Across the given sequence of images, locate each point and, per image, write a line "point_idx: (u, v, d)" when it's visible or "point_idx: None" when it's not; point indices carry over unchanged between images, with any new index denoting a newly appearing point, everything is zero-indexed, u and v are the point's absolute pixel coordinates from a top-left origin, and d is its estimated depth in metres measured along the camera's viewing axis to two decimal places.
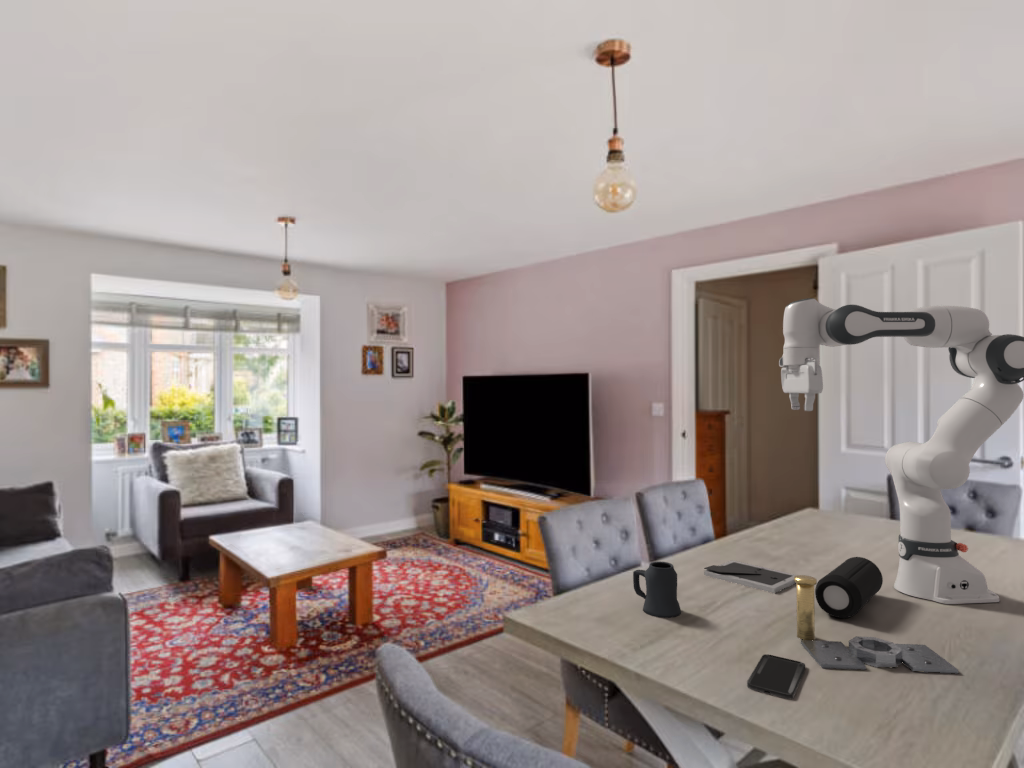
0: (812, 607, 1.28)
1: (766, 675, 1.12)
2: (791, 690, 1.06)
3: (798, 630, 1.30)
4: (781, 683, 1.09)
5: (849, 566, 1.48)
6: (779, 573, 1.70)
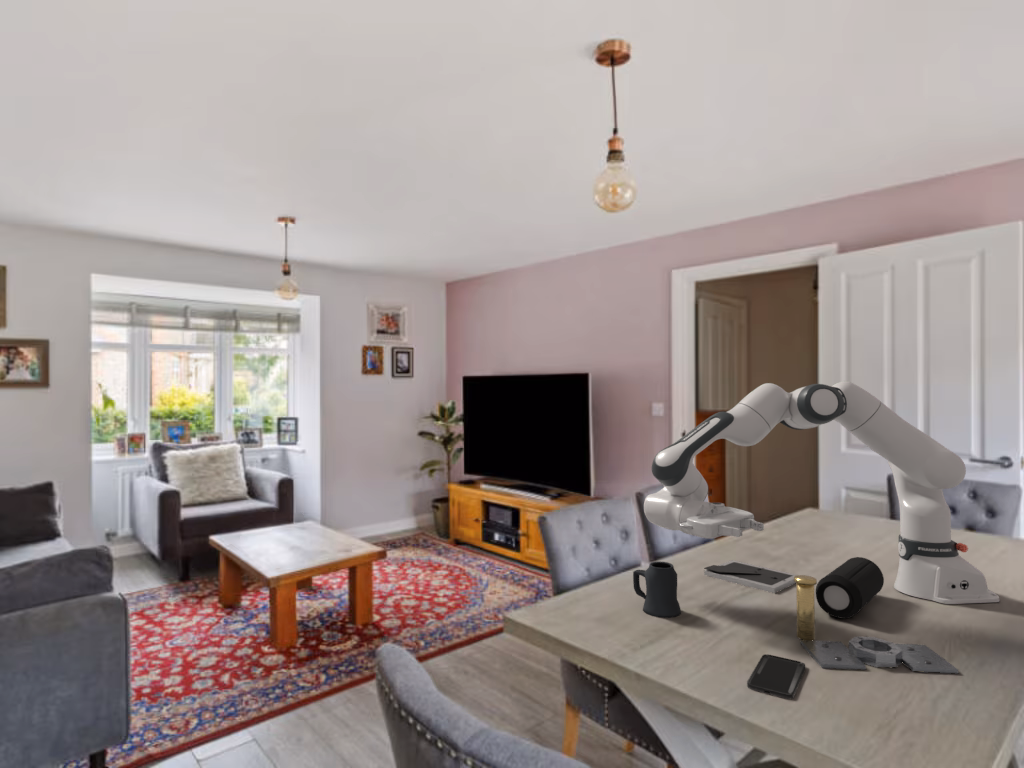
0: (812, 607, 1.28)
1: (766, 675, 1.12)
2: (791, 690, 1.06)
3: (798, 630, 1.30)
4: (781, 683, 1.09)
5: (850, 566, 1.48)
6: (779, 573, 1.70)
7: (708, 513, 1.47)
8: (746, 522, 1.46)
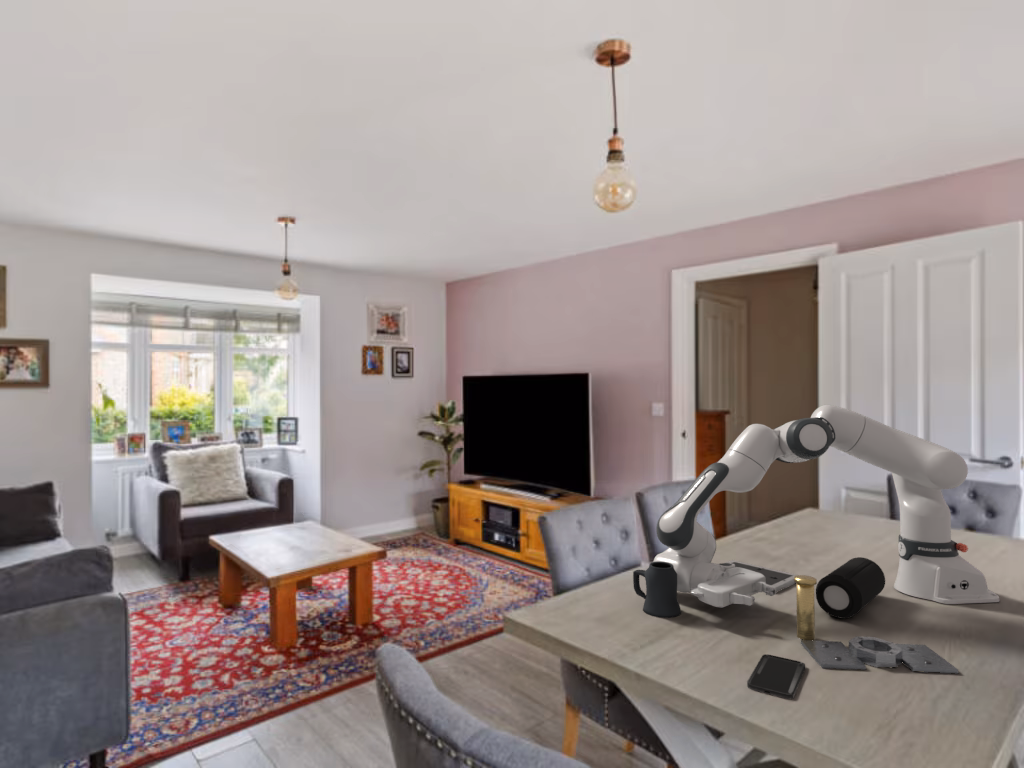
0: (812, 607, 1.28)
1: (766, 675, 1.12)
2: (791, 690, 1.06)
3: (798, 630, 1.30)
4: (781, 683, 1.09)
5: (850, 566, 1.48)
6: (779, 573, 1.70)
7: (719, 577, 1.45)
8: (758, 585, 1.44)
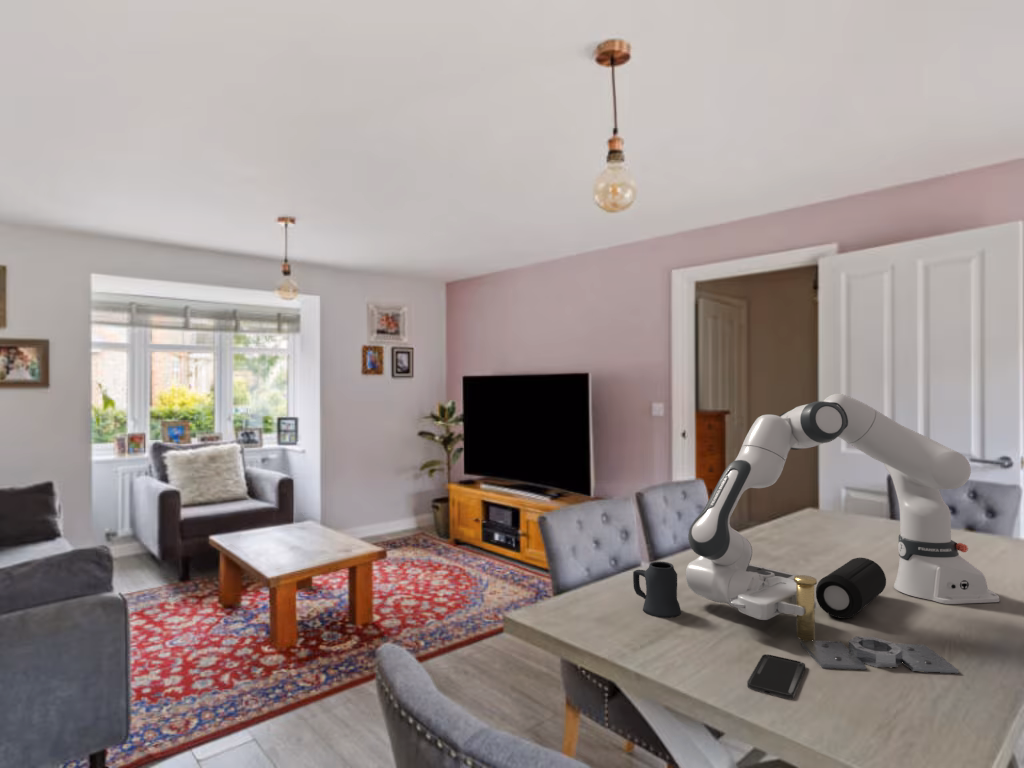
0: (812, 607, 1.28)
1: (766, 675, 1.12)
2: (791, 690, 1.06)
3: (798, 630, 1.30)
4: (781, 683, 1.09)
5: (851, 566, 1.48)
6: (779, 573, 1.70)
7: (759, 587, 1.37)
8: (796, 598, 1.34)
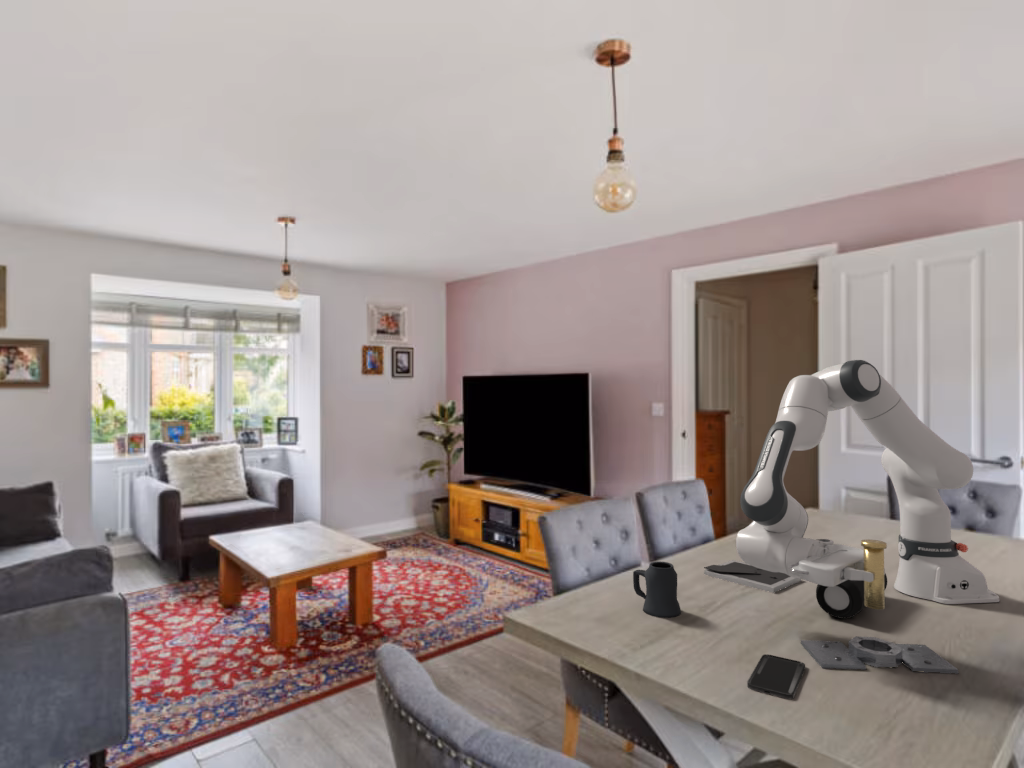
0: (882, 573, 1.19)
1: (766, 675, 1.12)
2: (791, 690, 1.06)
3: (866, 598, 1.20)
4: (781, 683, 1.09)
5: None
6: (779, 573, 1.70)
7: (821, 554, 1.27)
8: (861, 565, 1.25)
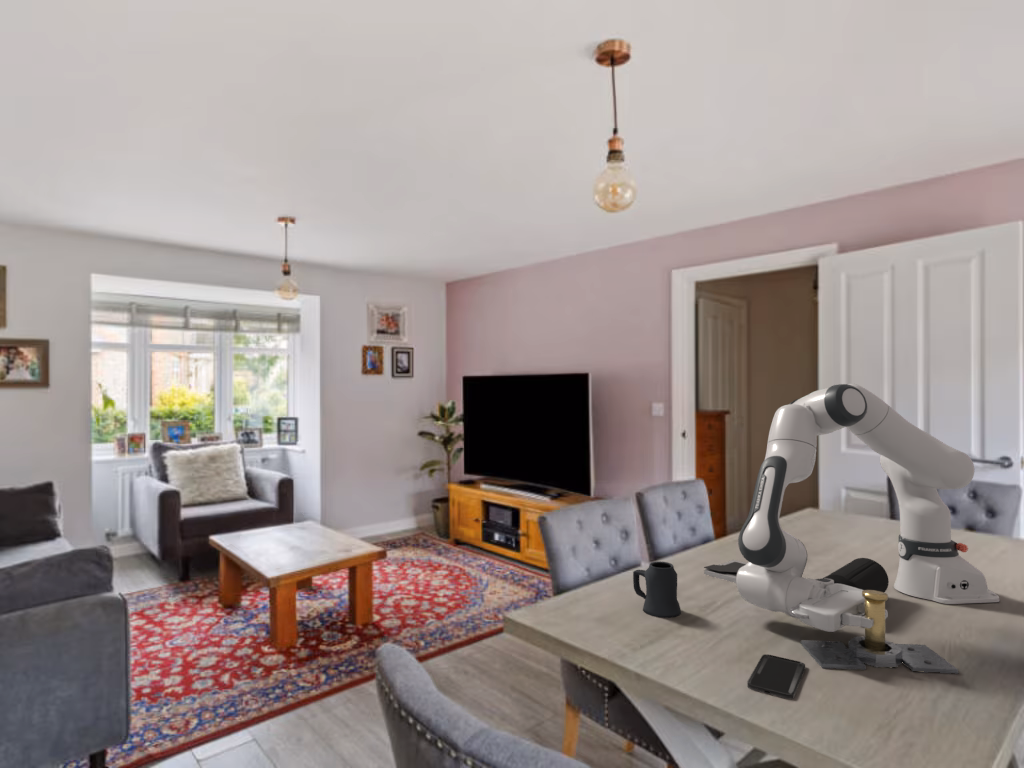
0: (883, 625, 1.19)
1: (766, 675, 1.12)
2: (791, 690, 1.06)
3: None
4: (781, 683, 1.09)
5: (852, 567, 1.48)
6: None
7: (821, 596, 1.27)
8: (864, 607, 1.25)
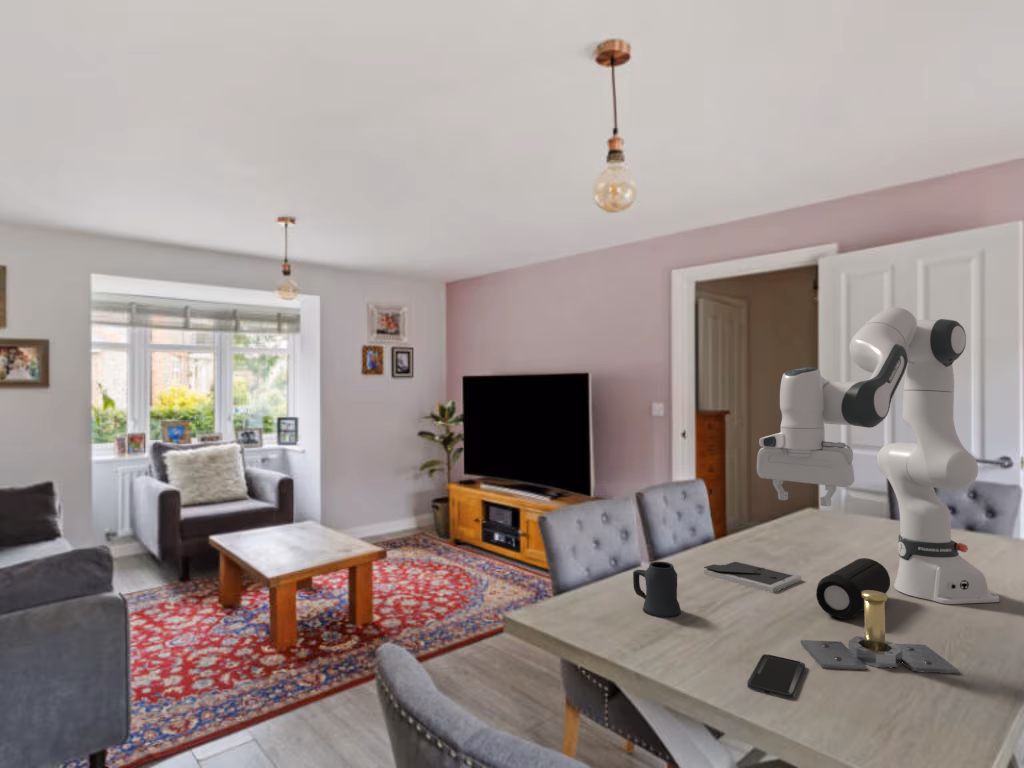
0: (883, 625, 1.18)
1: (766, 675, 1.12)
2: (791, 690, 1.06)
3: None
4: (781, 683, 1.09)
5: (853, 567, 1.48)
6: (779, 573, 1.70)
7: None
8: (781, 480, 1.37)
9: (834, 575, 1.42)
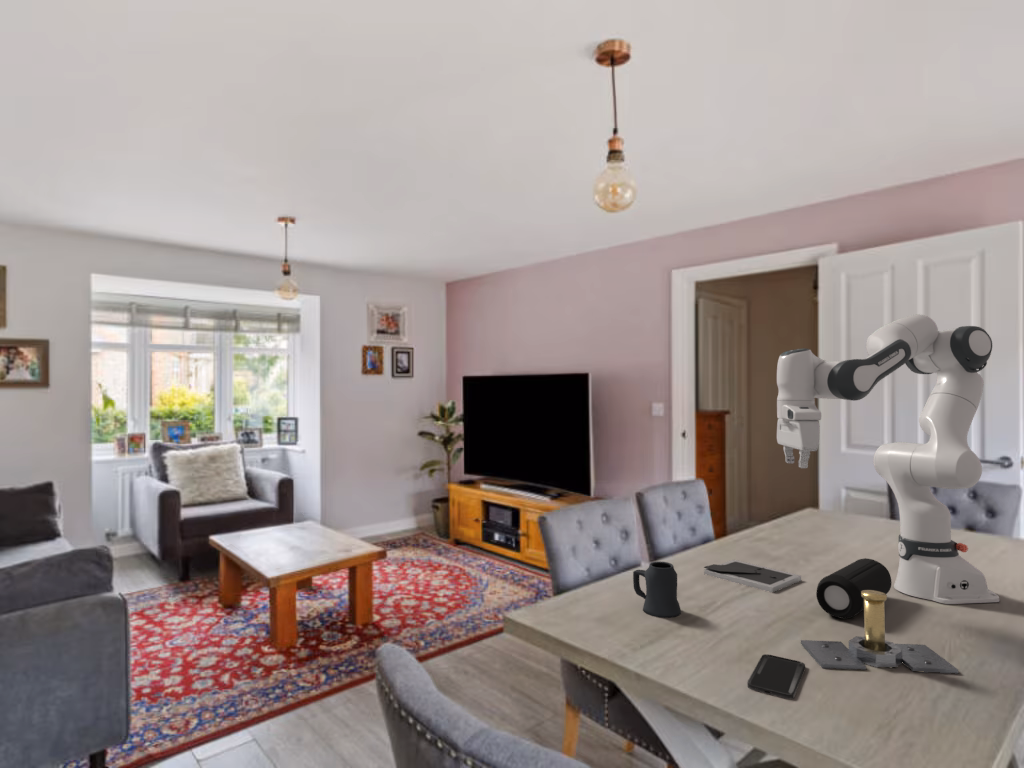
0: (882, 625, 1.19)
1: (766, 675, 1.12)
2: (791, 690, 1.06)
3: None
4: (782, 683, 1.09)
5: (854, 567, 1.48)
6: (779, 573, 1.70)
7: None
8: None
9: (834, 575, 1.42)
